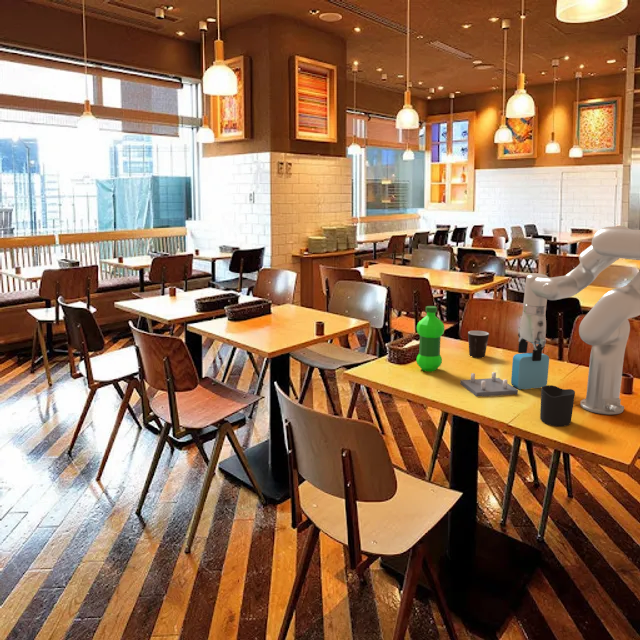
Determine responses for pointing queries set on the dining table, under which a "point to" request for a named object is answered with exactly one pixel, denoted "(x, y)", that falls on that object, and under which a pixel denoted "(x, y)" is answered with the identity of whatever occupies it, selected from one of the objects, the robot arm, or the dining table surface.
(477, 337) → the coffee mug
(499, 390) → the pin tray
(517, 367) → the blue rounded block
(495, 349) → the dining table surface
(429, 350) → the plastic bottle
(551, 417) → the pen holder
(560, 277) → the robot arm
